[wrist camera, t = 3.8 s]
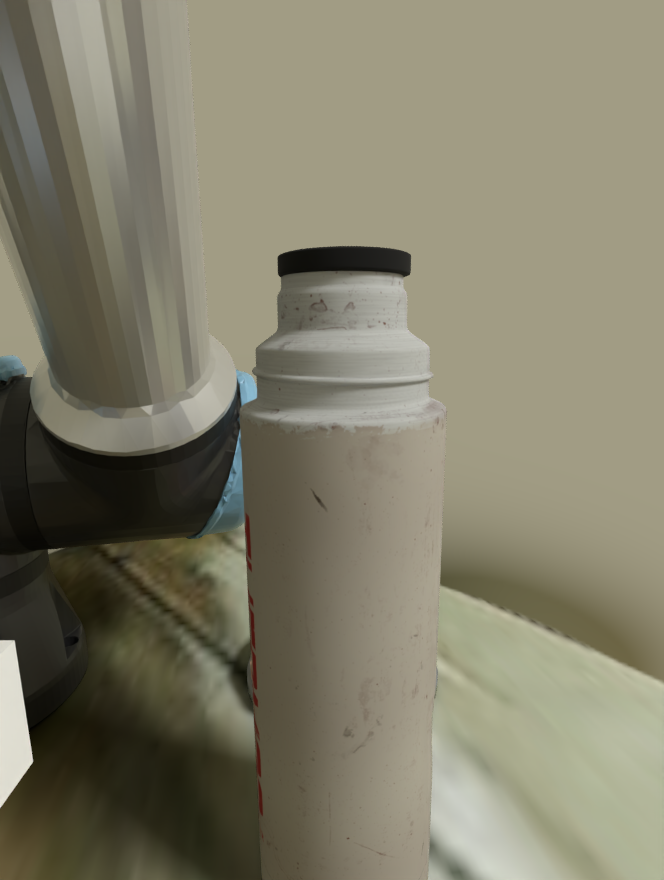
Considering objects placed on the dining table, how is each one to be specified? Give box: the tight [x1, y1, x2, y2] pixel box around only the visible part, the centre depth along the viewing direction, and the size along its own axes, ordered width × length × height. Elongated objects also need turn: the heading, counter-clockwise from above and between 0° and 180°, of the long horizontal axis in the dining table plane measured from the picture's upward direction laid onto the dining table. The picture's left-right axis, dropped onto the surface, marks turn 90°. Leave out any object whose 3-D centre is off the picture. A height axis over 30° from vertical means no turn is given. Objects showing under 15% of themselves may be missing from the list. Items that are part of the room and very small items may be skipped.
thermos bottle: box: [240, 246, 447, 880], centre depth 22 cm, size 8×8×28 cm
